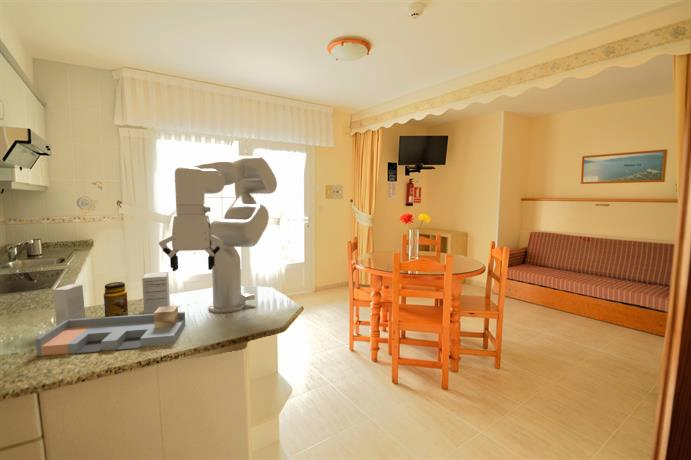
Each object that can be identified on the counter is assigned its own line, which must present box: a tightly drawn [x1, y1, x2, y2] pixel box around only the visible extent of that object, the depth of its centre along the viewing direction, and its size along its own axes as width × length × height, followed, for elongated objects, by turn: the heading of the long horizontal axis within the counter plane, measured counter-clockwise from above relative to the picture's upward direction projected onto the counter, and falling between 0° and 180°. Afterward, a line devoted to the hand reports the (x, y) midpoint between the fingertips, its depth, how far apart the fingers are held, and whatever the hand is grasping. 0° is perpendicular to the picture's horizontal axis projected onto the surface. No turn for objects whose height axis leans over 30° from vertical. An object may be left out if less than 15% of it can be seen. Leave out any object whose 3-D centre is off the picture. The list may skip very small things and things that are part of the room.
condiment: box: [103, 281, 130, 317], centre depth 104 cm, size 7×8×12 cm
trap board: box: [35, 311, 186, 357], centre depth 91 cm, size 31×14×4 cm, turn 104°
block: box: [154, 305, 179, 328], centre depth 96 cm, size 5×5×4 cm
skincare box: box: [52, 283, 86, 326], centre depth 100 cm, size 6×4×12 cm
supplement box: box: [141, 271, 171, 315], centre depth 114 cm, size 7×7×13 cm
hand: (193, 269), depth 96 cm, fingers open, 9 cm apart
